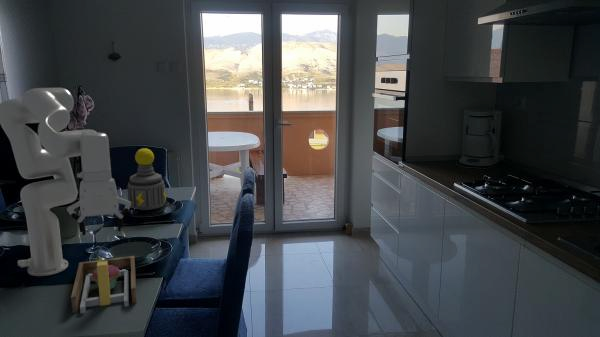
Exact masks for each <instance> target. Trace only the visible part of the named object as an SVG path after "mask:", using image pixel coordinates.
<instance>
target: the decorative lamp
mask: <svg viewBox="0 0 600 337" xmlns="http://www.w3.org/2000/svg"><path fill="white" fill-rule="evenodd" d="M134 158H135V159H134V160H135V161H136V163H137V164H138V166H137V170H136V171H137V172H136V173H135V174H133V175H131V176H130V177H129V182H127V186H126V187H127V197H126V198H127V200H128V201H130V202H131V206H130V209H132V208H135V209H141V210H140V211H151V210H156V209H159V208H162V207H164V206H165V204H166V202H167V194H166V184H165V181H164V179H163V176H162V174H159V173H157V172H155V170H154V167H153V162H154V160H155V155H154V153H153V151H152V150H151V149H149V148H144V147H143V148H140V149H138V150H137V151H136V153H135V155H134ZM135 209H134V210H135Z"/></svg>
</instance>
